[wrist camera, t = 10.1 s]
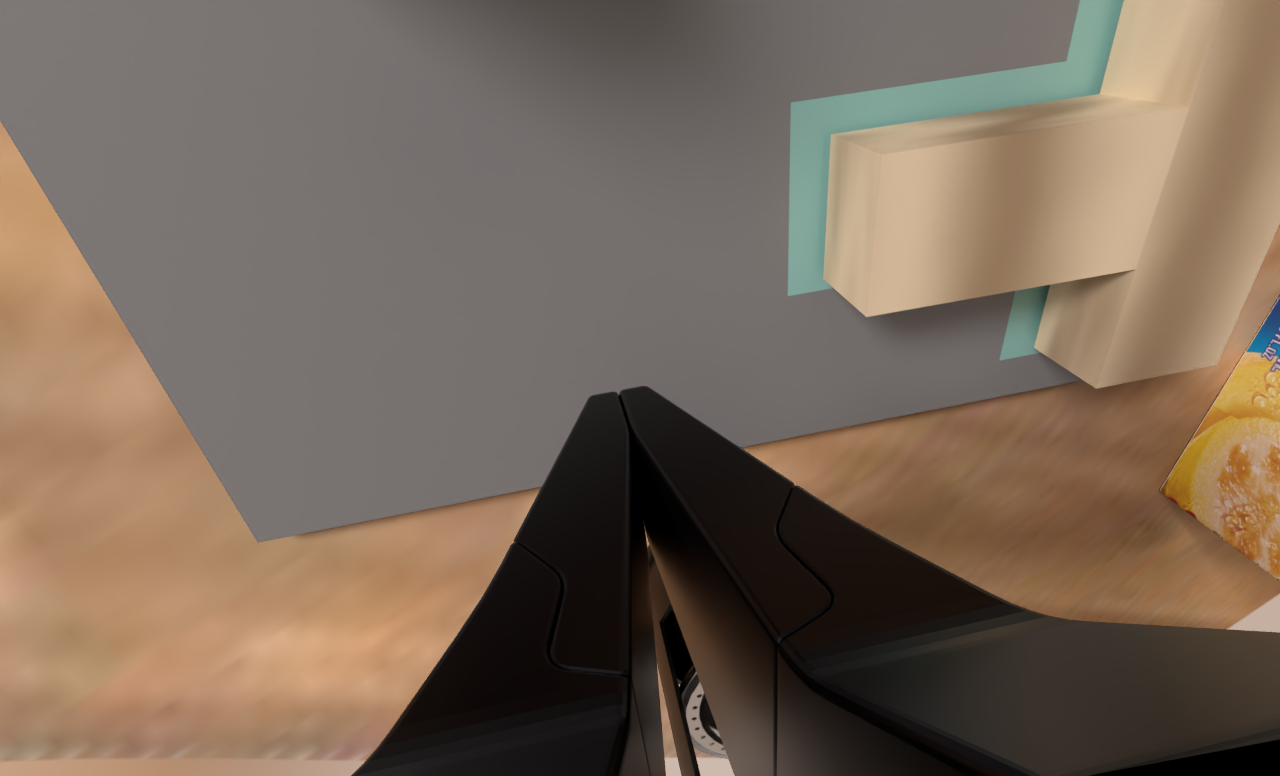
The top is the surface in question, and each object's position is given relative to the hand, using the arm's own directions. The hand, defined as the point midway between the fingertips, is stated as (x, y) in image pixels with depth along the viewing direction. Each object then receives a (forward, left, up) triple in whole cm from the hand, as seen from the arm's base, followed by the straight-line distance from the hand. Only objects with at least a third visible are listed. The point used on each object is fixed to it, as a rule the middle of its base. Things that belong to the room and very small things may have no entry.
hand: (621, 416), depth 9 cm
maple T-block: (-14, +1, -11) cm, 18 cm away
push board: (-5, +1, -12) cm, 13 cm away
